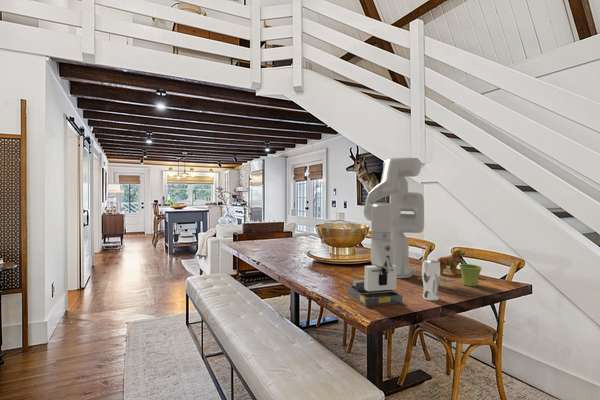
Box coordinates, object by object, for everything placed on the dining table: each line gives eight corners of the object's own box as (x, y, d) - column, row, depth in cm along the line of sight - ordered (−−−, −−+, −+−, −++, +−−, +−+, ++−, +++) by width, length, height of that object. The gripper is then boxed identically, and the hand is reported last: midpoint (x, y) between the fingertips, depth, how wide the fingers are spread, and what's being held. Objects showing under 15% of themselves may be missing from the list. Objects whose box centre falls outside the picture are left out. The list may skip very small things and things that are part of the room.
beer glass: (418, 295, 135) (418, 259, 135) (434, 295, 136) (435, 259, 135) (426, 301, 128) (426, 263, 128) (443, 301, 129) (443, 263, 128)
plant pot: (479, 283, 154) (479, 264, 154) (483, 288, 145) (484, 269, 145) (457, 281, 157) (457, 263, 157) (460, 286, 148) (460, 267, 148)
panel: (392, 287, 130) (392, 264, 129) (396, 289, 127) (396, 266, 126) (364, 289, 126) (364, 265, 126) (367, 291, 123) (368, 267, 123)
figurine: (438, 275, 168) (437, 250, 168) (432, 273, 174) (431, 248, 174) (465, 274, 169) (465, 249, 169) (459, 271, 176) (458, 247, 175)
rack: (380, 290, 142) (380, 277, 142) (402, 303, 126) (402, 289, 126) (347, 292, 138) (347, 279, 138) (365, 306, 122) (366, 292, 122)
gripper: (401, 238, 119) (400, 289, 120) (379, 233, 135) (378, 277, 135) (382, 239, 117) (382, 290, 118) (362, 233, 133) (362, 278, 133)
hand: (380, 283), depth 126 cm, fingers closed on panel, 3 cm apart
